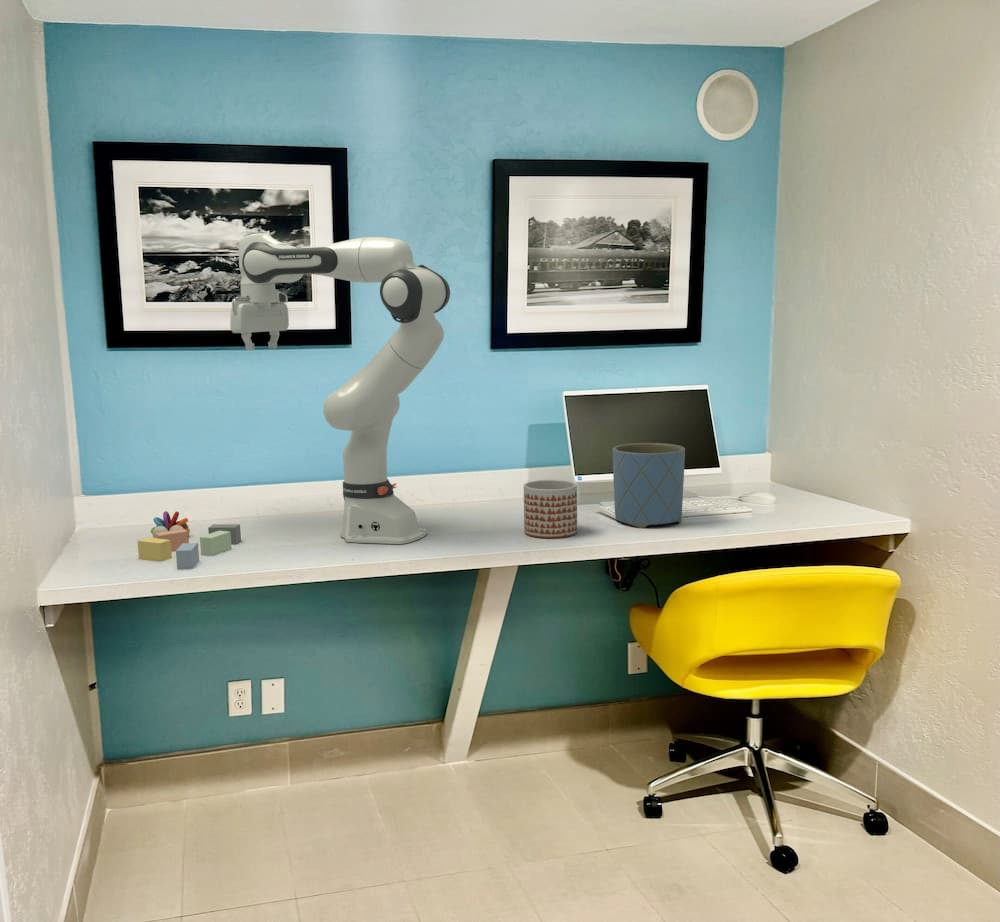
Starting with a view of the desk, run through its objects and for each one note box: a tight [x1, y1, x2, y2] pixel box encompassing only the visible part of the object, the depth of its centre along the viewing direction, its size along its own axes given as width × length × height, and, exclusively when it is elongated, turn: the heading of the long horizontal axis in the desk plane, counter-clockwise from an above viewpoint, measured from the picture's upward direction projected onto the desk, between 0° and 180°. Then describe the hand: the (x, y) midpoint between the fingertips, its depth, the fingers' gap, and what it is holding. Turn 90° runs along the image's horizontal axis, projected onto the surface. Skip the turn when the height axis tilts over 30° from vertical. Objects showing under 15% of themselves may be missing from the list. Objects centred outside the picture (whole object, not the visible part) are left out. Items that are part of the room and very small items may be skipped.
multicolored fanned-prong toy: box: [150, 511, 191, 538], centre depth 249 cm, size 8×10×7 cm
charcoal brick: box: [207, 523, 242, 545], centre depth 243 cm, size 7×4×4 cm, turn 86°
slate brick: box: [175, 542, 200, 570], centre depth 222 cm, size 7×4×4 cm, turn 6°
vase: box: [523, 479, 578, 540], centre depth 246 cm, size 14×14×13 cm
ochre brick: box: [137, 537, 173, 562], centre depth 229 cm, size 7×4×4 cm, turn 66°
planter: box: [612, 442, 686, 529], centre depth 256 cm, size 19×19×20 cm
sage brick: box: [199, 531, 233, 557], centre depth 234 cm, size 7×4×4 cm, turn 156°
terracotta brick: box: [155, 529, 190, 552], centre depth 237 cm, size 7×4×4 cm, turn 126°
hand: (261, 349), depth 254 cm, fingers open, 8 cm apart
